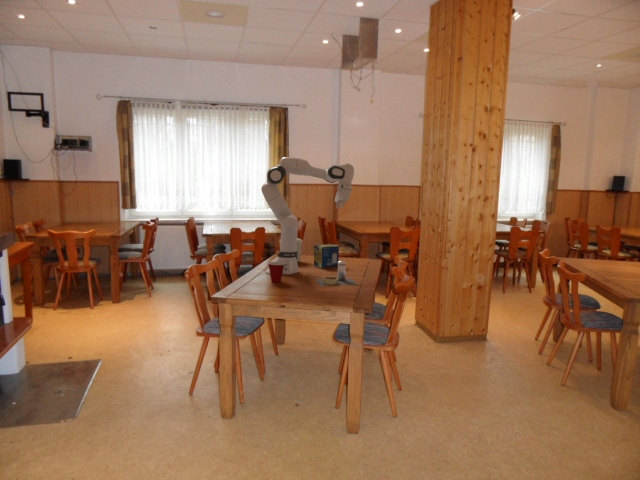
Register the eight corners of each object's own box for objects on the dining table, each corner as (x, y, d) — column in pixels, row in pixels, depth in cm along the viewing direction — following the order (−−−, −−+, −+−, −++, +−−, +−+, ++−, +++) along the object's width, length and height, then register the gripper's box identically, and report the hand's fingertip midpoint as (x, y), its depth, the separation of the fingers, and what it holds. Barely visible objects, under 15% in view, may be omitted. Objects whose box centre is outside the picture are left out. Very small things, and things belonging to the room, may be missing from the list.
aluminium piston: (338, 281, 278) (338, 262, 276) (336, 279, 283) (337, 260, 281) (346, 281, 278) (346, 261, 277) (344, 279, 284) (345, 260, 282)
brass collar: (323, 285, 267) (323, 280, 266) (321, 281, 276) (321, 276, 276) (339, 284, 268) (339, 279, 268) (336, 281, 278) (336, 276, 277)
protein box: (313, 266, 330) (313, 245, 327) (330, 264, 338) (331, 243, 336) (321, 268, 321) (321, 247, 319) (338, 266, 329) (339, 245, 327)
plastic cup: (288, 281, 280) (289, 262, 278) (277, 284, 271) (277, 264, 269) (275, 278, 286) (275, 260, 284) (263, 282, 277) (263, 262, 275)
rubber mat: (320, 287, 266) (320, 285, 265) (315, 280, 282) (315, 279, 282) (358, 286, 269) (358, 284, 269) (351, 280, 286) (351, 278, 286)
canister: (295, 265, 332) (296, 236, 329) (274, 262, 340) (274, 234, 337) (306, 261, 349) (307, 234, 346) (286, 259, 356) (286, 232, 353)
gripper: (335, 188, 312) (330, 207, 312) (344, 184, 293) (340, 205, 292) (343, 190, 314) (339, 210, 313) (353, 187, 294) (349, 208, 294)
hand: (339, 207), depth 302 cm, fingers open, 8 cm apart
